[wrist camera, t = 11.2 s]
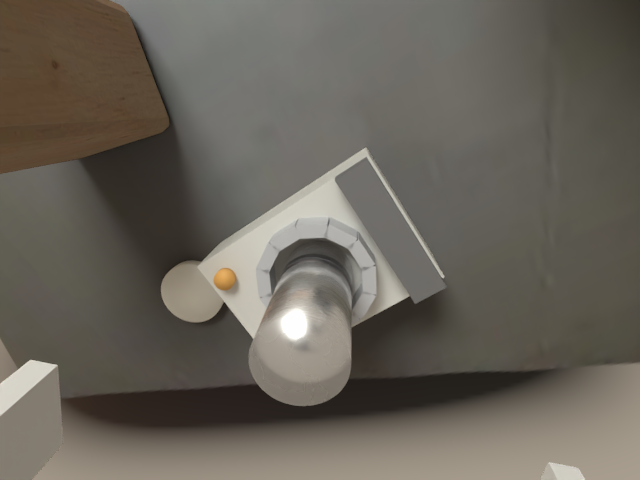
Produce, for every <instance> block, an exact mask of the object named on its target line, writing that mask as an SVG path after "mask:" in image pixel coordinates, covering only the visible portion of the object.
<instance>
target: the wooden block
mask: <svg viewBox="0 0 640 480" xmlns="http://www.w3.org/2000/svg"><path fill="white" fill-rule="evenodd" d="M168 126H169V117H168V115H167V112H166V109H165V107H164V104H163V102H162V99H161V96H160V94H159V91H158V88H157V86H156V83H155V81H154V78H153V75H152V73H151V70H150V68H149V65H148V62H147V60H146V57H145V54H144V52H143V49H142V47H141V44H140V41H139V39H138V36H137V34H136V31H135V28H134V26H133V23H132V20H131V18H130V15H129V14H128V13H127V11H126V10H125V9H124V8H123V7H122V6H121V5H119V4H116V3H114V2H112V1H110V0H0V174H2V173H7V172H13V171H18V170H23V169H28V168H34V167H39V166H44V165H49V164H55V163H60V162H65V161H70V160H76V159H81V158H84V157H87V156H90V155H93V154H96V153H99V152H103V151H106V150H109V149H112V148H115V147H118V146H121V145H124V144H128V143H131V142H134V141H137V140H140V139H143V138H146V137H150V136H153V135H156V134H159V133H162V132H163V131H164V130H165V129H166V128H167V127H168Z"/></svg>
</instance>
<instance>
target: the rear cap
mask: <svg viewBox="0 0 640 480" xmlns="http://www.w3.org/2000/svg"><path fill="white" fill-rule="evenodd" d="M200 263H201V261H195V260H190V261H184V262H181V263H179V264H177V265H176V266H175V267H174V268H172V269H171V270H170V271H169V272H168V273H167V274H166V275H165V277H164V279H163V281H162V284H161V296H162V299H163V302H164V304H165V305H166V307H167V308H168V309H169V311H170V312H171V313H173V314H174V315H175V316H177V317H178V318H180V319H182V320H185V321H188V322H203V321H206V320H209V319H211V318H212V317H214V316H215V315H216V314H217V312H218V311H219V310H220V308H221V307H222V305H223V303H224V301H223V299H222V298H221V297H220V296H219V294H218V293H217V292H216V290H215V289H214V288H213V287H212V285H211V284H210V283H209V282H208V280H207V279H206V278H205V276H204V275H203V274H202V273H201V271H200V270H199V269H198V267H197V266H198V265H199V264H200Z"/></svg>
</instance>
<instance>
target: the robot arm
mask: <svg viewBox="0 0 640 480" xmlns="http://www.w3.org/2000/svg"><path fill="white" fill-rule="evenodd" d="M62 444H63V433H62V418H61V404H60V389H59V375H58V365H54V364H49V363H44V362H39V361H34V360H30V361H28V362H27V363H26V364H25V365H23V366H22V367H21V368H19V369H18V370H17V371H16V372H14V373H13V374H12V375H11V376H10V377H8V378H7V379H6V380H4V381H3V382H2V383H1V384H0V480H32V479H33V478H34V477H35V476H36V475H37V474H38V472H39V471H40V470H41V469H42V468H43V467H44V465H45V464H46V463H47V462H48V461H49V459H50V458H51V457H52V456H53V455H54V454H55V453H56V451H57V450H58V449H59V448H60V446H62ZM540 480H585V478H584V477H583V475H582V473H581V472H580V470H579V468H576V467H571V466H566V465H561V464H556V463H551V462H548V464H547V466H546V468H545V470H544V472H543V475H542V477H541V479H540Z"/></svg>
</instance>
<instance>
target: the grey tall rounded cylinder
mask: <svg viewBox="0 0 640 480" xmlns="http://www.w3.org/2000/svg"><path fill="white" fill-rule="evenodd" d="M351 325H352V267H351V263H350V261H349V258H348V257H347V255H346V254H345V252H344V251H343V250H342V249H341V248H339V247H338V246H336V245H335V244H333V243H330V242H327V241H322V240H314V241H308V242H305V243H303V244H301V245H299V246H298V247H297V248H295V249H294V250H293V252H292V253H291V254H290V256H289V258H288V260H287V262H286V265H285V267H284V269H283V271H282V273H281V276H280V278H279V280H278V283H277V285H276V288H275V290H274V293H273V295H272V297H271V300H270V302H269V304H268V307H267V309H266V311H265V314H264V316H263V318H262V321H261V323H260V325H259V328H258V330H257V332H256V335H255V337H254V339H253V342H252V344H251V346H250V350H249V367H250V371H251V373H252V376H253V378H254V380H255V381H256V383H257V384H258V385H259V386H260V388H261V389H262V390H263V391H265V392H266V393H267V394H268V395H270V396H271V397H273V398H275V399H277V400H279V401H281V402H283V403H287V404H290V405H297V406H310V405H316V404H319V403H323V402H325V401H328V400H329V399H331V398H333V397H334V396H335V395H337V394H338V393H339V392H340V391H341V390H342V389H343V387H344V386H345V385H346V382H347V381H348V378H349V376H350V371H351Z"/></svg>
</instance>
